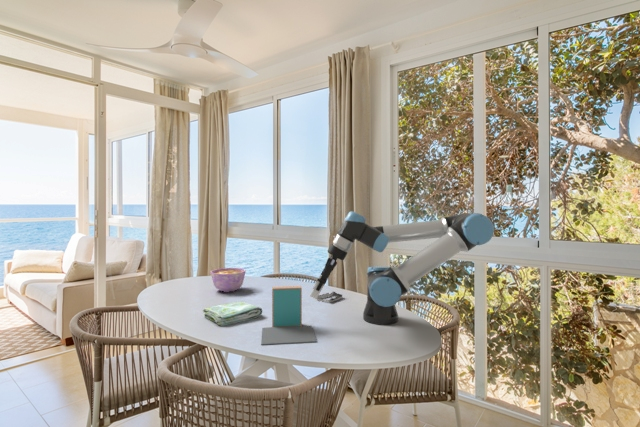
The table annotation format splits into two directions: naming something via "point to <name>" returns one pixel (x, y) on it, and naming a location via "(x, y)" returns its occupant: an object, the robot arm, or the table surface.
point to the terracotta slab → (286, 306)
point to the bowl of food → (228, 278)
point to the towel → (232, 313)
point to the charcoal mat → (287, 335)
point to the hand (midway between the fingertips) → (314, 293)
